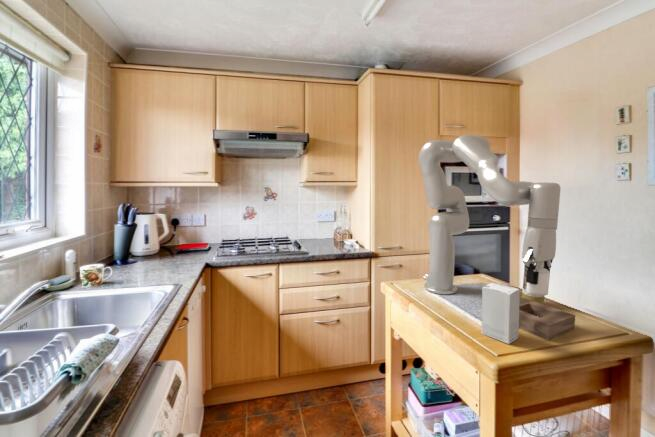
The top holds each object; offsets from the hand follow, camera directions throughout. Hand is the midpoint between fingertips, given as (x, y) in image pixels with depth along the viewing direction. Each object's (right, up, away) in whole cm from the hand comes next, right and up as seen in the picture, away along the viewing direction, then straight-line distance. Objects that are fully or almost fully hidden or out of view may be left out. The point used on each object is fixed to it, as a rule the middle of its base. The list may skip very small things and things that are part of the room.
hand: (537, 281), depth 100 cm
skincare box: (-15, -15, -6) cm, 22 cm away
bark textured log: (+9, -12, +17) cm, 23 cm away
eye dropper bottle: (0, -4, +1) cm, 4 cm away
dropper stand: (0, -14, +2) cm, 14 cm away
